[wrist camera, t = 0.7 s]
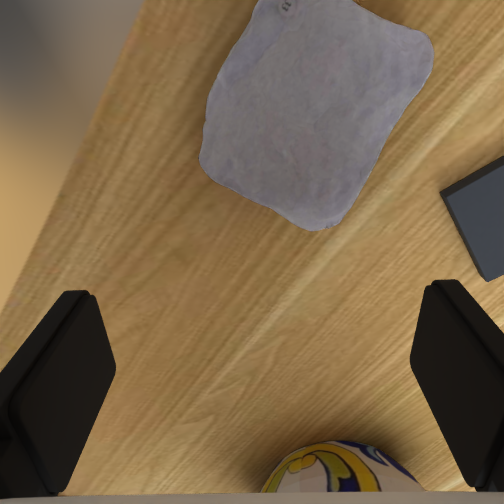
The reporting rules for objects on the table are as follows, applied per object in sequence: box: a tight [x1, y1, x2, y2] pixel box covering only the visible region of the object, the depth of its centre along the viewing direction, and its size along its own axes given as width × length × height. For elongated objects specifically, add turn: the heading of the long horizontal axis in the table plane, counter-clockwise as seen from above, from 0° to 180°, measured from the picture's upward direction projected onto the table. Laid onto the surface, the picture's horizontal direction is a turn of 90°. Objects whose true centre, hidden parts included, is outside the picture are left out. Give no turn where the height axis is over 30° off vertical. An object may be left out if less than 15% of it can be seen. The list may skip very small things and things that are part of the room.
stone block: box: [198, 0, 434, 231], centre depth 21 cm, size 12×5×10 cm
